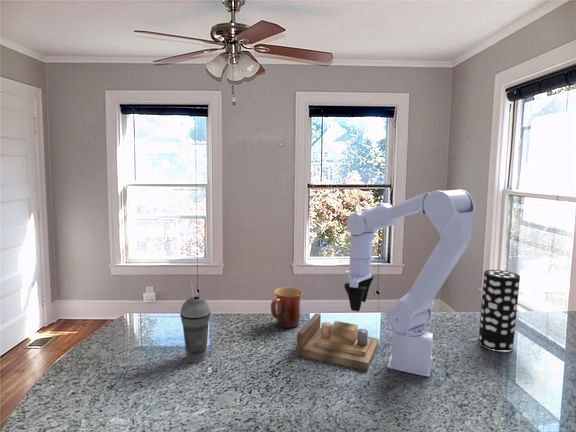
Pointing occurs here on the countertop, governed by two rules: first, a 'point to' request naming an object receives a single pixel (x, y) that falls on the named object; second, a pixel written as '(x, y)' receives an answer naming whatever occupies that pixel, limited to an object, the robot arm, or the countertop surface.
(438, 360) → the countertop surface
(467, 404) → the countertop surface
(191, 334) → the beverage cup
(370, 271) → the robot arm
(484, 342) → the spotted tube
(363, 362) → the light wood stepped block
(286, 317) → the mug
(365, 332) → the wooden stand
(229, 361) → the countertop surface
